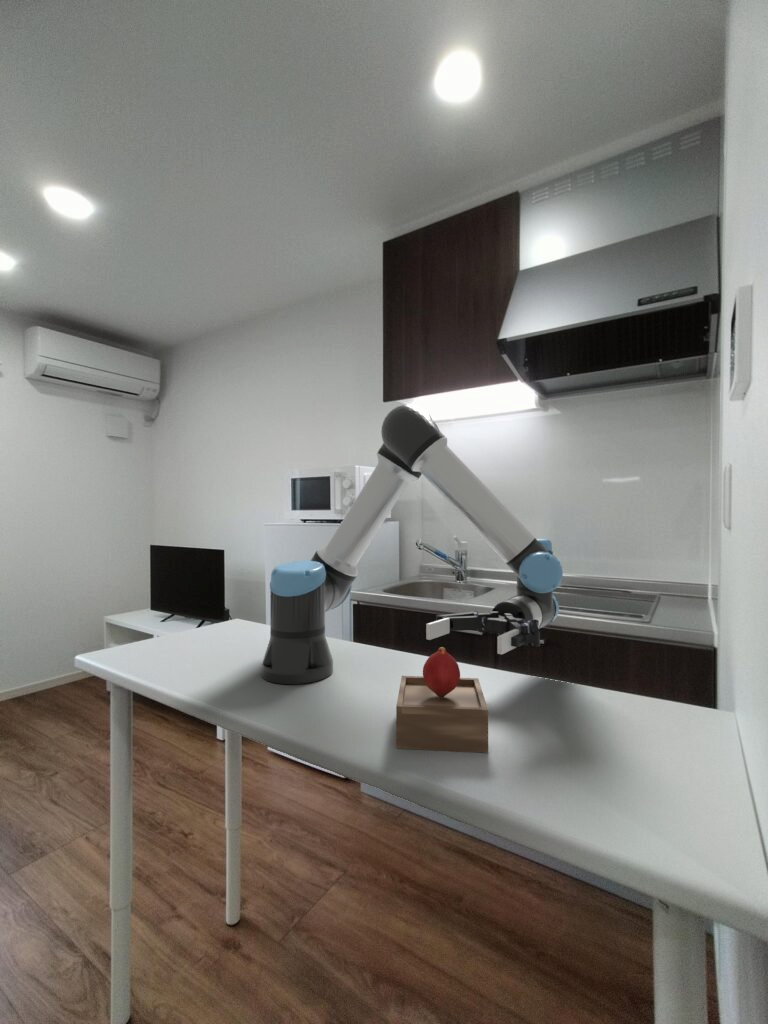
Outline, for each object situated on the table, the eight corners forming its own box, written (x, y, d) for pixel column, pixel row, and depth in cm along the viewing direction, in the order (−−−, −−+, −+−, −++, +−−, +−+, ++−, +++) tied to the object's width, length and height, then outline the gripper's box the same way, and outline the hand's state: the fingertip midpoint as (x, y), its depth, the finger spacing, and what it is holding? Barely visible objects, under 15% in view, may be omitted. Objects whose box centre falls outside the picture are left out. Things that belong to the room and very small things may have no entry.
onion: (421, 687, 74) (422, 639, 74) (456, 688, 74) (457, 640, 74) (423, 705, 68) (424, 653, 68) (462, 705, 68) (463, 653, 68)
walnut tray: (401, 710, 78) (401, 675, 78) (478, 713, 77) (478, 678, 77) (396, 748, 65) (396, 706, 65) (488, 752, 64) (488, 709, 64)
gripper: (580, 647, 84) (535, 677, 68) (461, 627, 100) (402, 647, 84) (579, 606, 84) (534, 626, 68) (461, 592, 100) (402, 606, 84)
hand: (461, 638), depth 76 cm, fingers open, 13 cm apart
